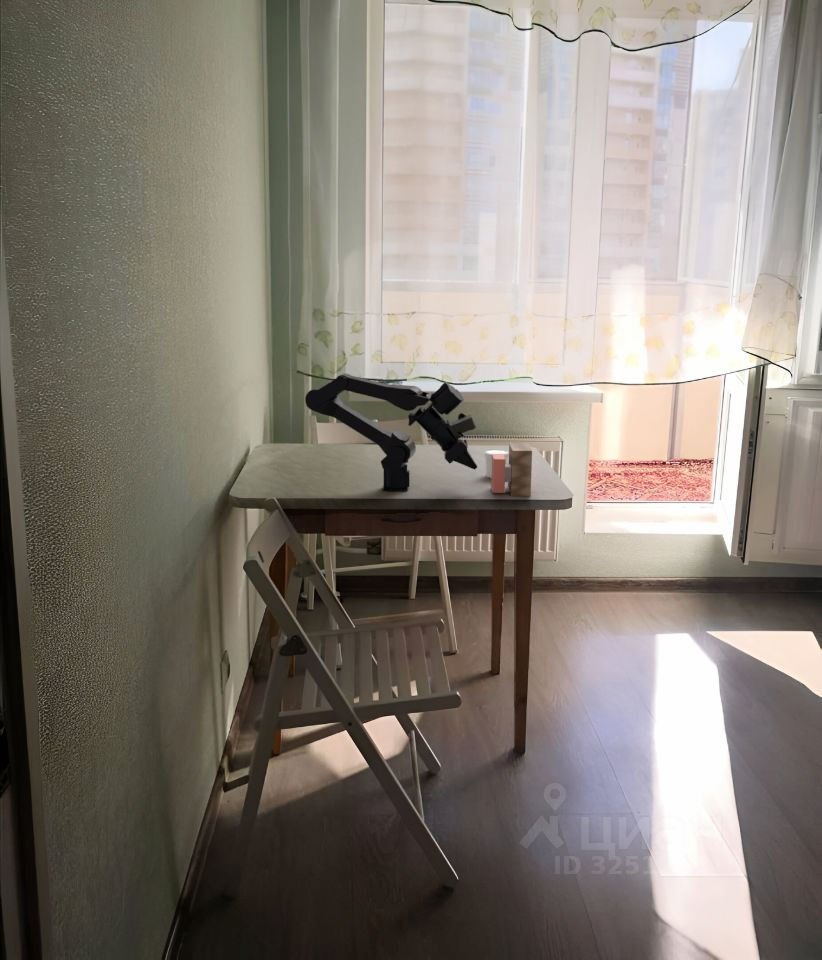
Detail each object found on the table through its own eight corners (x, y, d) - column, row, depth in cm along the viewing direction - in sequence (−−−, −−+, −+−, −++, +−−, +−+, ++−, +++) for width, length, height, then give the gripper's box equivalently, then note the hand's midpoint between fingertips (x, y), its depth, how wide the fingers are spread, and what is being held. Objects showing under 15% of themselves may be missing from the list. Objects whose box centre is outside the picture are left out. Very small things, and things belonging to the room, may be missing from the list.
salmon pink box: (493, 492, 241) (493, 459, 239) (491, 486, 248) (492, 453, 246) (527, 493, 241) (528, 459, 239) (524, 486, 248) (525, 453, 245)
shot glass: (482, 473, 264) (482, 449, 262) (506, 473, 264) (506, 449, 263) (485, 479, 257) (486, 454, 256) (510, 478, 258) (510, 454, 256)
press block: (511, 495, 239) (512, 450, 237) (507, 486, 249) (509, 442, 246) (530, 496, 239) (532, 450, 237) (526, 486, 249) (527, 443, 246)
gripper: (459, 410, 230) (501, 455, 233) (456, 399, 248) (495, 440, 251) (427, 441, 232) (469, 484, 235) (426, 427, 250) (465, 467, 253)
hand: (476, 468), depth 243 cm, fingers closed
